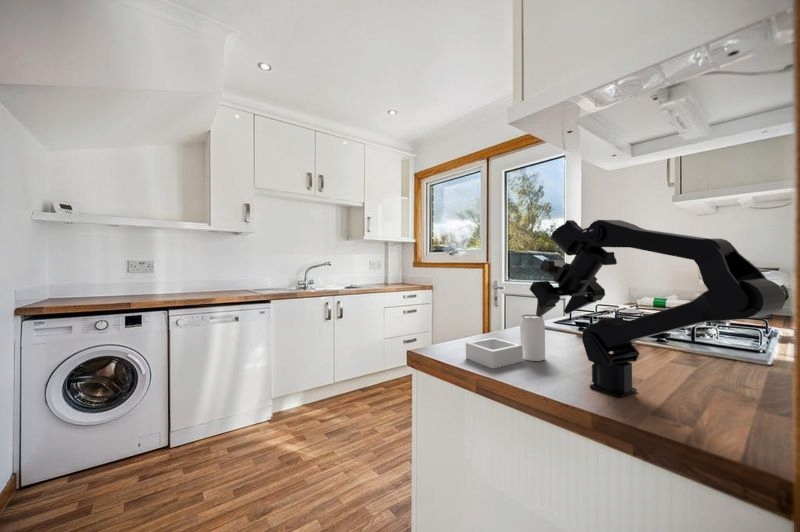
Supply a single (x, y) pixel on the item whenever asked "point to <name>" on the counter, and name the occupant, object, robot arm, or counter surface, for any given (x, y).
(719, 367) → the counter surface
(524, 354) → the can
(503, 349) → the box
